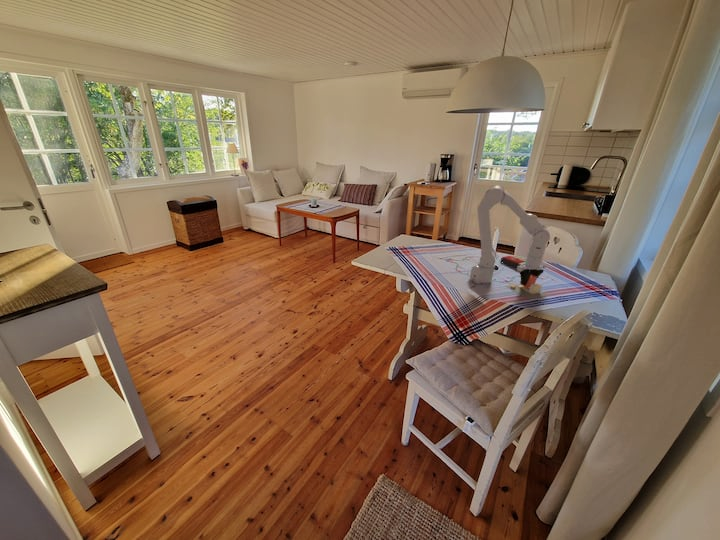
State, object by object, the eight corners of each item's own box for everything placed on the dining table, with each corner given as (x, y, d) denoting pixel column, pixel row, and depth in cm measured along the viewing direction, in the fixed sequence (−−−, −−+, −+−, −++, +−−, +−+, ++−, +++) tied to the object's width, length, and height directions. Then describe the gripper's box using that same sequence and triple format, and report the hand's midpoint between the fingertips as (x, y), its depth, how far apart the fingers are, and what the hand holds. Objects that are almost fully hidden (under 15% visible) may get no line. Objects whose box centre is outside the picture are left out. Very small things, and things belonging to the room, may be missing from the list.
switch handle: (532, 293, 125) (534, 286, 124) (529, 291, 127) (531, 284, 126) (540, 292, 126) (542, 285, 125) (536, 290, 128) (538, 283, 127)
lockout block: (519, 283, 131) (522, 273, 129) (526, 282, 132) (529, 272, 130) (526, 287, 128) (529, 277, 126) (533, 286, 129) (537, 276, 127)
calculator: (515, 253, 164) (539, 262, 152) (513, 261, 166) (538, 269, 153) (501, 256, 160) (525, 265, 148) (499, 263, 162) (523, 273, 149)
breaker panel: (526, 302, 122) (527, 297, 121) (505, 289, 132) (506, 284, 131) (548, 298, 125) (549, 293, 124) (525, 285, 135) (527, 281, 135)
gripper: (529, 260, 119) (521, 290, 124) (556, 257, 123) (547, 285, 129) (516, 254, 125) (508, 282, 130) (542, 251, 129) (534, 278, 135)
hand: (527, 283), depth 130 cm, fingers closed on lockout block, 4 cm apart
